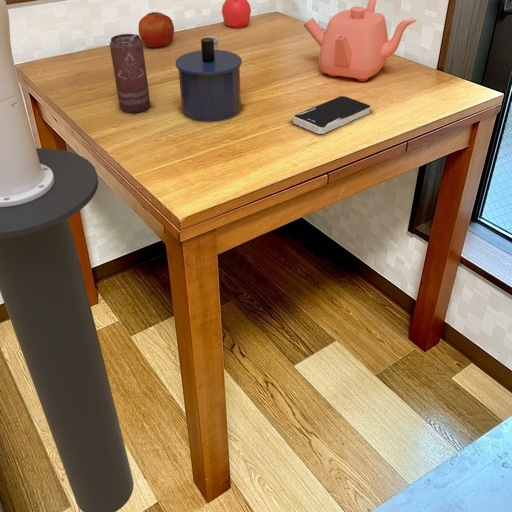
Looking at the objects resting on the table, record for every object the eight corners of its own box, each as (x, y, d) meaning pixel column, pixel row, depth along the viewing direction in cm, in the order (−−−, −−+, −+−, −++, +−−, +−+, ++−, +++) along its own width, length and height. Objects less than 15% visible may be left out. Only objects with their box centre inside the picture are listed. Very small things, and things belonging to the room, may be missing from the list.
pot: (205, 126, 114) (202, 78, 108) (171, 108, 121) (166, 61, 115) (252, 109, 119) (251, 63, 114) (216, 93, 127) (214, 48, 121)
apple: (216, 26, 164) (214, -5, 159) (235, 19, 169) (234, -11, 164) (238, 31, 160) (237, 0, 155) (257, 24, 165) (256, -6, 160)
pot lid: (201, 83, 107) (199, 55, 104) (163, 65, 115) (160, 38, 112) (255, 67, 114) (254, 39, 111) (215, 50, 121) (213, 25, 118)
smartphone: (372, 106, 117) (321, 129, 109) (371, 112, 118) (320, 135, 110) (342, 95, 122) (291, 116, 114) (342, 101, 122) (290, 123, 114)
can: (157, 105, 122) (149, 35, 113) (136, 116, 118) (126, 44, 109) (135, 99, 125) (125, 30, 116) (113, 109, 120) (102, 39, 112)
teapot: (369, 53, 145) (375, -7, 137) (409, 79, 131) (418, 14, 123) (300, 63, 140) (302, 1, 132) (333, 91, 126) (338, 24, 118)
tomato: (147, 53, 147) (143, 19, 142) (135, 42, 154) (130, 10, 149) (182, 47, 151) (179, 14, 146) (168, 37, 157) (165, 5, 152)
